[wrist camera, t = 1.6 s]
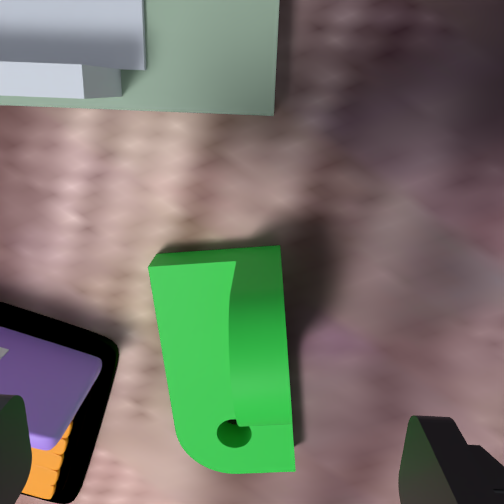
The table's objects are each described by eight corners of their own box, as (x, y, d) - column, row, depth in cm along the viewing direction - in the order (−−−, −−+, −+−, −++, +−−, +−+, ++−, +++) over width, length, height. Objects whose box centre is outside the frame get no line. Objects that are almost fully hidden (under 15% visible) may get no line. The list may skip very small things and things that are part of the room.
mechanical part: (158, 252, 23) (103, 332, 15) (280, 243, 23) (285, 321, 15) (189, 448, 27) (157, 589, 19) (293, 444, 27) (303, 585, 19)
